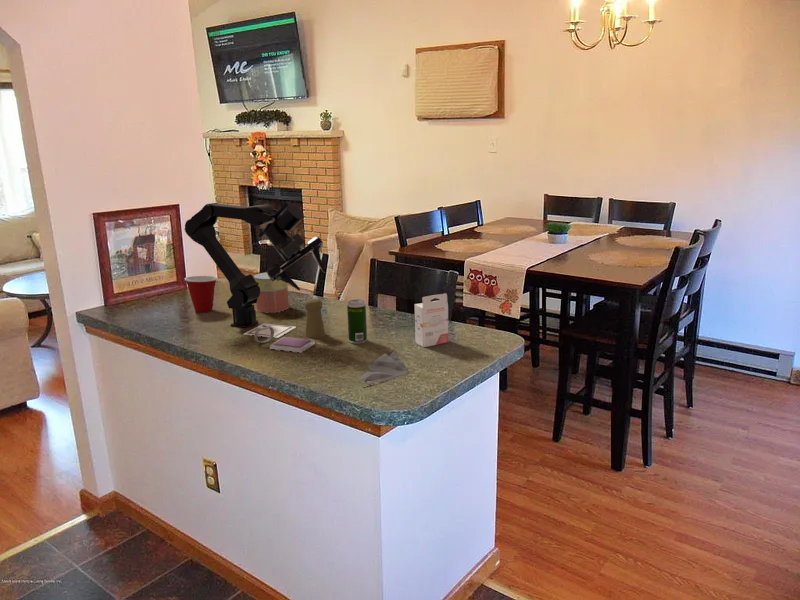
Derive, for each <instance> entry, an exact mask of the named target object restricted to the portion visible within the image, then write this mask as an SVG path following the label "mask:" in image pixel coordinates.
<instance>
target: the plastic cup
mask: <svg viewBox="0 0 800 600" xmlns="http://www.w3.org/2000/svg"><path fill="white" fill-rule="evenodd" d="M217 280H218V277H216V276H215V275H213V276H212V275H194V276H192V275H191V276H188V277H184V281H185V283H186V285H187V288H188V292H189V295H190V299H191V302H192V304H193V309H194V312H195V313H199V314H201V313H204V314H205V313H210V312H212V311H213V308H214V299H215V297H214V296H215V288H216V287H215V286H216V282H217Z"/></svg>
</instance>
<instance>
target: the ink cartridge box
mask: <svg viewBox="0 0 800 600" xmlns="http://www.w3.org/2000/svg"><path fill="white" fill-rule="evenodd" d="M421 299H422V300H421V301H422V302H421V303H414V333H415V335H414V336H415V338H414V339H415V340H414V341H415V344H417V345H419V346H420V347H423V348H427V347H433V346H436V345H441V344H447V343H449V304H448V294H447V293H445V292H444V293H440V294H439V293H438V294H433V295H427V296H423V297H422V298H421ZM434 299H436V300H434ZM437 299H438V300H437ZM432 300H434V301H432Z"/></svg>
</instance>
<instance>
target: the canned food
mask: <svg viewBox="0 0 800 600" xmlns="http://www.w3.org/2000/svg"><path fill="white" fill-rule="evenodd" d="M253 277H254V279H255V280H256V282H258V283H259V284H258V286H259V287H260V295H259V297H258V299H257V303H255V304H256V305H255V307H256V309H257V310H256V312H258V311H259V312H258V313H261V312H265V313H264V314H270V313H269V312H278V313H280V312H279V311H283V312H285V311H284V310H286V309H288V308H289V309H290V304H289V289H288V283H286V282H284V281H282V280H279V281H277V279H276V280H275V281H273V282H272V280H271V279H270V278H269V276H268V274H267V271H265V272H260V273H257V274H254V275H253ZM289 309H288V310H289ZM286 311H287V310H286Z"/></svg>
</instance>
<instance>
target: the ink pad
mask: <svg viewBox="0 0 800 600" xmlns="http://www.w3.org/2000/svg"><path fill="white" fill-rule="evenodd" d="M315 343H316V342H315V339H308V338H307V339H306V338H297V337H288V336H282V337H280V338H279V339H278V340H277V341H275V342H272V344H270V345H269V350H271V349H275V350H274V351H280V350H284V351H283V352H289V351H292V352H291V353H297V352H299V353H298V354H301V353H304V352H305V351H306V350H308V349H309V348H311V347H312V346H314V345H315ZM303 351H304V352H303Z"/></svg>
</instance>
